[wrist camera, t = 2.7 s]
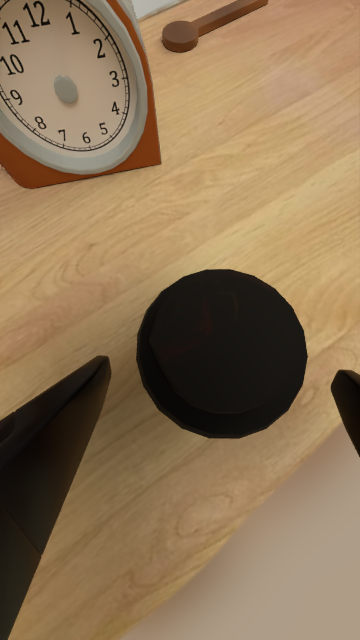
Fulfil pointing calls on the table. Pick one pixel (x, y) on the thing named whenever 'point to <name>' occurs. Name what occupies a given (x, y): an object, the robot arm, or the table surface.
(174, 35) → the wooden spoon
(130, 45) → the alarm clock
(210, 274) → the coffee cup
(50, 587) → the table surface
